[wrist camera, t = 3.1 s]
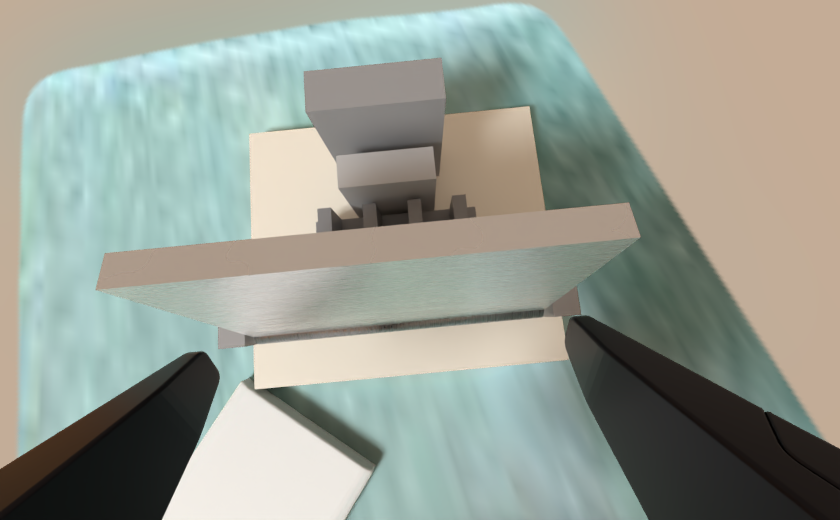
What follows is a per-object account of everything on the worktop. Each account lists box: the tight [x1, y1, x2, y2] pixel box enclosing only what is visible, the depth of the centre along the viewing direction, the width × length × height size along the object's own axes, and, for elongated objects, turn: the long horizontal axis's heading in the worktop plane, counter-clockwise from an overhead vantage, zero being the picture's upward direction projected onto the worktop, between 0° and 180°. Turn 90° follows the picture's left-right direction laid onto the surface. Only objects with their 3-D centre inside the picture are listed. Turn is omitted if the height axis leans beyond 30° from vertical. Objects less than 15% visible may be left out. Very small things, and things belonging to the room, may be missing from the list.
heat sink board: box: [218, 58, 581, 389], centre depth 16 cm, size 14×16×8 cm
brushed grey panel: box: [96, 202, 641, 344], centre depth 11 cm, size 1×11×8 cm, turn 96°
